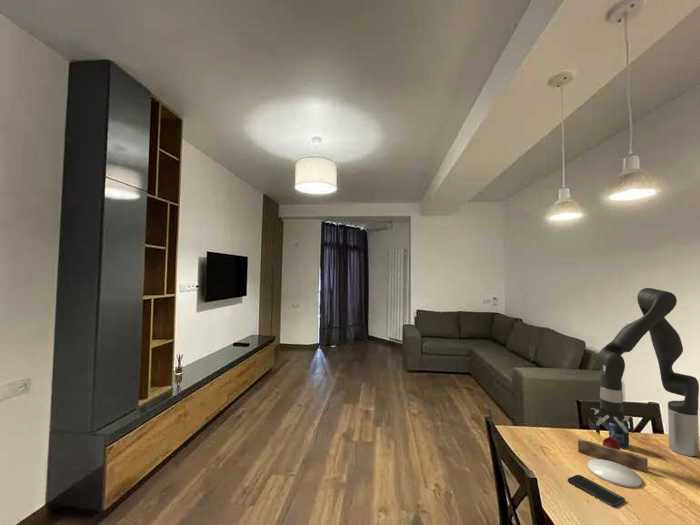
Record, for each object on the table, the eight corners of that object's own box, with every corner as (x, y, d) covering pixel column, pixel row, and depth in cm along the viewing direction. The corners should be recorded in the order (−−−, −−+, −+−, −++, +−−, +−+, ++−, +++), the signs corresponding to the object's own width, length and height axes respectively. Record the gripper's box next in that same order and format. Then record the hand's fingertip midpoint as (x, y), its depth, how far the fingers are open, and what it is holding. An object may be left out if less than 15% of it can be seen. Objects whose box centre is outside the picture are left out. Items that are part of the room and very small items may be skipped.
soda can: (612, 446, 142) (611, 419, 143) (606, 439, 149) (606, 413, 149) (632, 450, 140) (631, 422, 140) (625, 442, 146) (624, 416, 147)
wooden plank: (578, 452, 138) (578, 440, 138) (578, 450, 139) (578, 438, 139) (647, 472, 124) (647, 459, 124) (647, 470, 125) (647, 457, 125)
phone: (578, 474, 121) (626, 498, 107) (578, 477, 121) (626, 502, 107) (565, 479, 117) (613, 505, 104) (566, 482, 117) (614, 509, 104)
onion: (623, 459, 133) (623, 439, 133) (607, 457, 134) (607, 438, 134) (615, 452, 138) (614, 433, 139) (599, 450, 139) (599, 431, 140)
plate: (601, 458, 133) (601, 455, 133) (650, 480, 119) (650, 477, 119) (579, 467, 126) (578, 465, 126) (628, 492, 112) (628, 489, 112)
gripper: (589, 396, 138) (590, 435, 137) (633, 405, 129) (634, 446, 128) (590, 392, 144) (591, 429, 143) (632, 400, 135) (633, 439, 134)
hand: (611, 437), depth 136 cm, fingers open, 8 cm apart
